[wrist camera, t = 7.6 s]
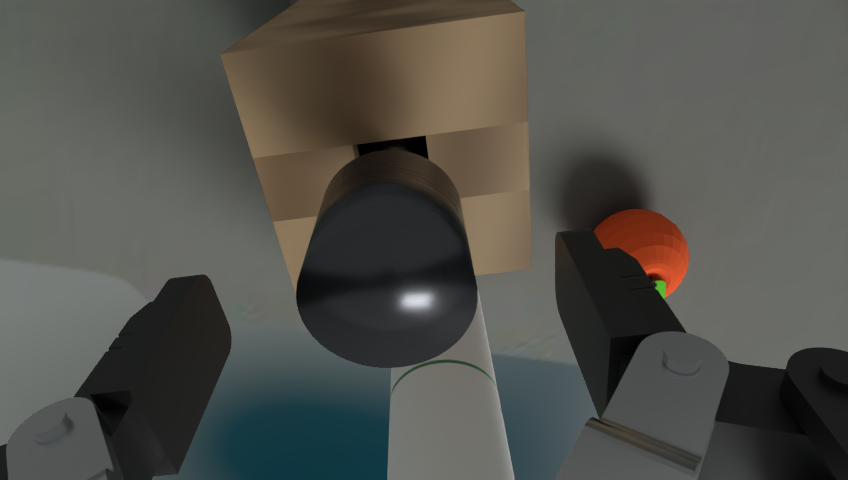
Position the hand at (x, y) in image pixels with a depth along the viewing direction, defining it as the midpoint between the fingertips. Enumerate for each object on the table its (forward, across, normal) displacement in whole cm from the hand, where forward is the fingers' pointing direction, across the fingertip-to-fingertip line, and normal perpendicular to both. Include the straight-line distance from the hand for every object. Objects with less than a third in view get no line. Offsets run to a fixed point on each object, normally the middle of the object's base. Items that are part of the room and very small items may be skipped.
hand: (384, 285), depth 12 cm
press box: (+25, 0, 0) cm, 25 cm away
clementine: (+26, -15, +16) cm, 34 cm away
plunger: (+23, 0, 0) cm, 23 cm away
